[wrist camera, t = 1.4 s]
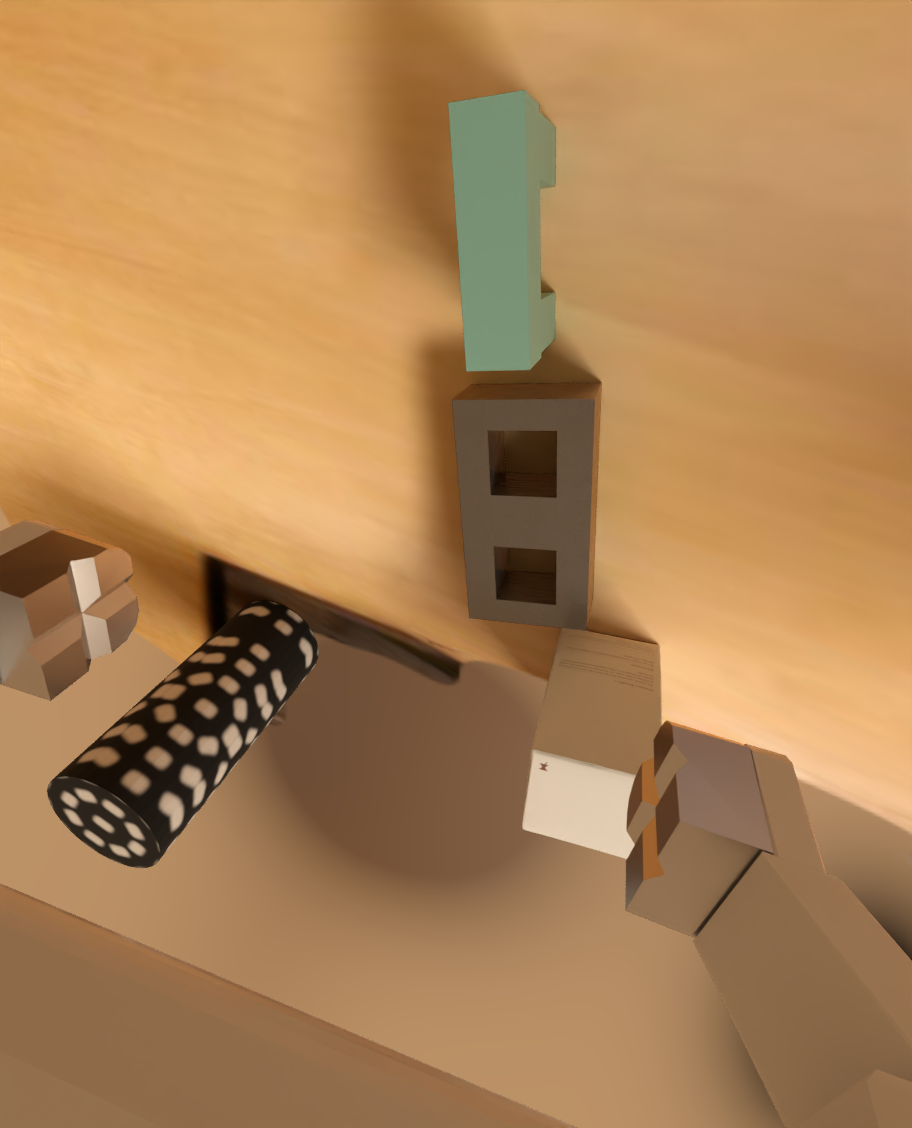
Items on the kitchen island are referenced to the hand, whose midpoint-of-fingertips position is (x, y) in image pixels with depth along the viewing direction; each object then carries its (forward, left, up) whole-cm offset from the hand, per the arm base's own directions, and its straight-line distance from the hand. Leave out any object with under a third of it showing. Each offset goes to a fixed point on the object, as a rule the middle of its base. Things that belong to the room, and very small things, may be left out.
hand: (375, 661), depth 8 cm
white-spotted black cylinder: (+27, +25, -30) cm, 48 cm away
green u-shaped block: (+3, -5, -30) cm, 30 cm away
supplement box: (-2, +24, -30) cm, 38 cm away
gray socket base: (+3, +10, -30) cm, 32 cm away
